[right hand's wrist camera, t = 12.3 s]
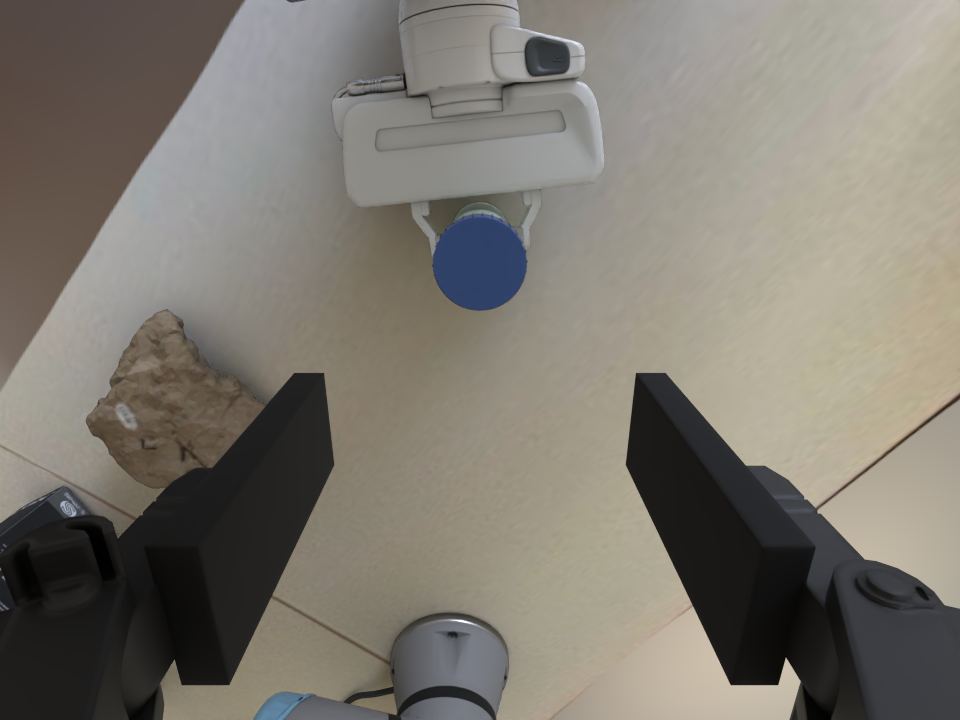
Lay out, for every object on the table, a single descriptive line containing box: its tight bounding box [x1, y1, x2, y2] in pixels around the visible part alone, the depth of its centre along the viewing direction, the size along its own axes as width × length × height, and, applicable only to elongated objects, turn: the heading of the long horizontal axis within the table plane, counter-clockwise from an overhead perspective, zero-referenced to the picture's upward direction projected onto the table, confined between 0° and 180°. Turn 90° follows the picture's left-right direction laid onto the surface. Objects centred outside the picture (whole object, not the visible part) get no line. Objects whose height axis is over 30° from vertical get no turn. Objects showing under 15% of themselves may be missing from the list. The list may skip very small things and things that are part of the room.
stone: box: [86, 309, 266, 488], centre depth 55 cm, size 21×15×6 cm
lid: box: [432, 213, 527, 311], centre depth 36 cm, size 6×6×2 cm
